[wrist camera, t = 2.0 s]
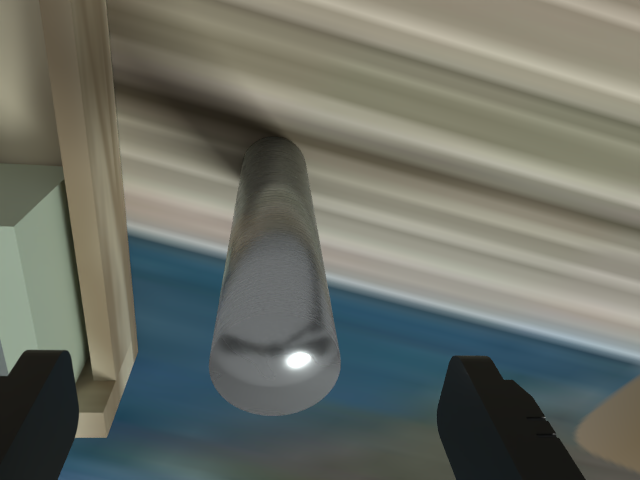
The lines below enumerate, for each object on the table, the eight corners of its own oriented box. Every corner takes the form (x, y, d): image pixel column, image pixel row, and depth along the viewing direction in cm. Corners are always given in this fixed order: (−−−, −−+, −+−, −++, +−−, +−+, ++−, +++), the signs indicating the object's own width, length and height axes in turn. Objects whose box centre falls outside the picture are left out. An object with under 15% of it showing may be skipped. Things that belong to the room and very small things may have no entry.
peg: (308, 139, 24) (347, 315, 11) (303, 199, 25) (334, 415, 13) (242, 134, 23) (208, 311, 11) (241, 196, 25) (209, 415, 12)
